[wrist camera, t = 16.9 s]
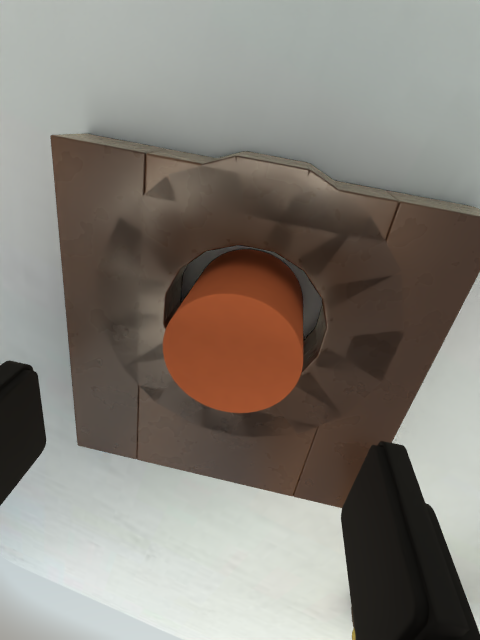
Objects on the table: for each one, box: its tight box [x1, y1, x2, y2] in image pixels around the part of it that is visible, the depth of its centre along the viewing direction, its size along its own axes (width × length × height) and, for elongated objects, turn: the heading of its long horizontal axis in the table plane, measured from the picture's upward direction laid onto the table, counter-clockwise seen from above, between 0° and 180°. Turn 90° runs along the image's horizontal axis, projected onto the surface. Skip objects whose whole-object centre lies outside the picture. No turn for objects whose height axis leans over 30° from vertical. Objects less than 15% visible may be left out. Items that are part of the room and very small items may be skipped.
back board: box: [51, 134, 480, 508], centre depth 17 cm, size 16×16×2 cm
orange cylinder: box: [163, 249, 303, 413], centre depth 15 cm, size 5×5×5 cm
